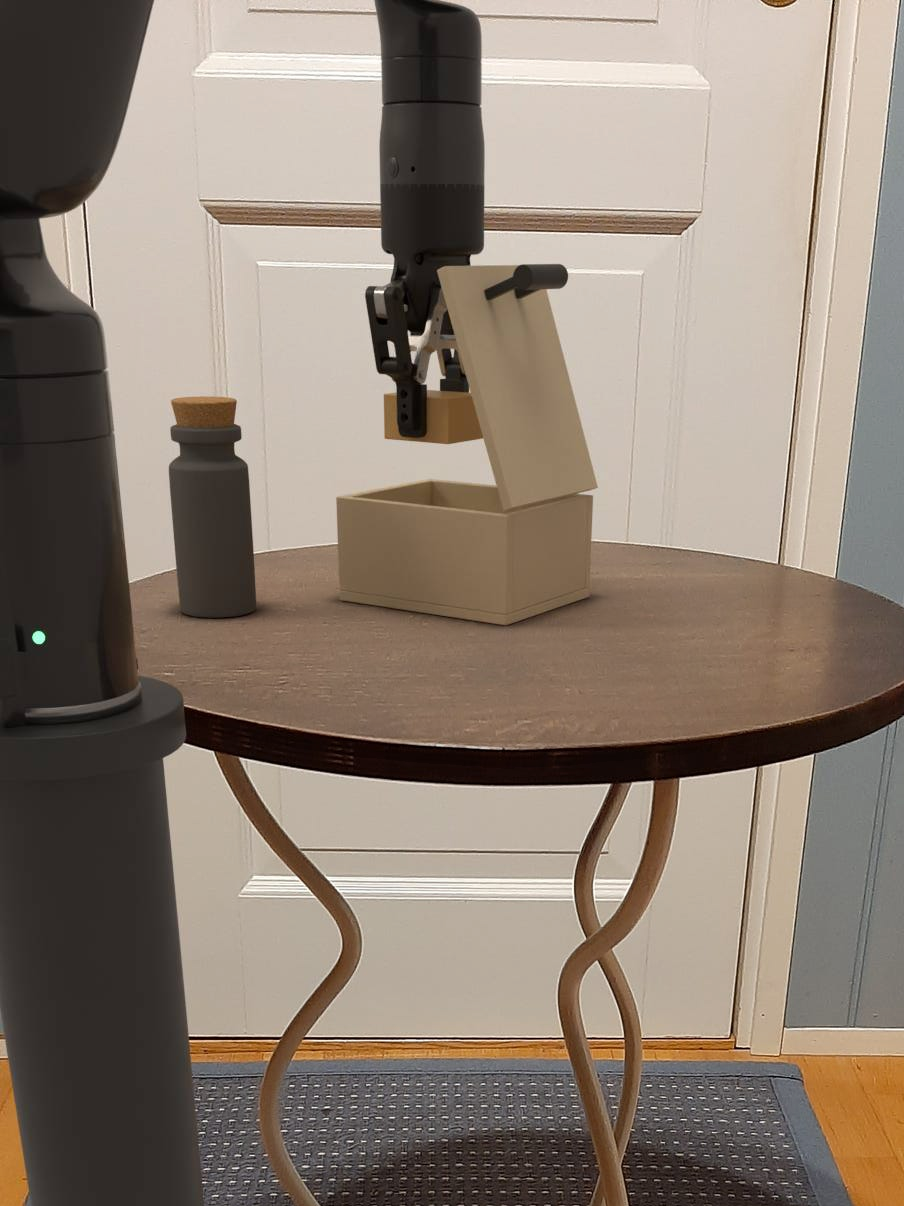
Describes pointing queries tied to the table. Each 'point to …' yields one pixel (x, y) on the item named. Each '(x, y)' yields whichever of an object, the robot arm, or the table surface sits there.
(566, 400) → the hinged handled lid
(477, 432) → the tan cardboard carton
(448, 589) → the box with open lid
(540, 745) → the table surface
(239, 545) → the bottle
